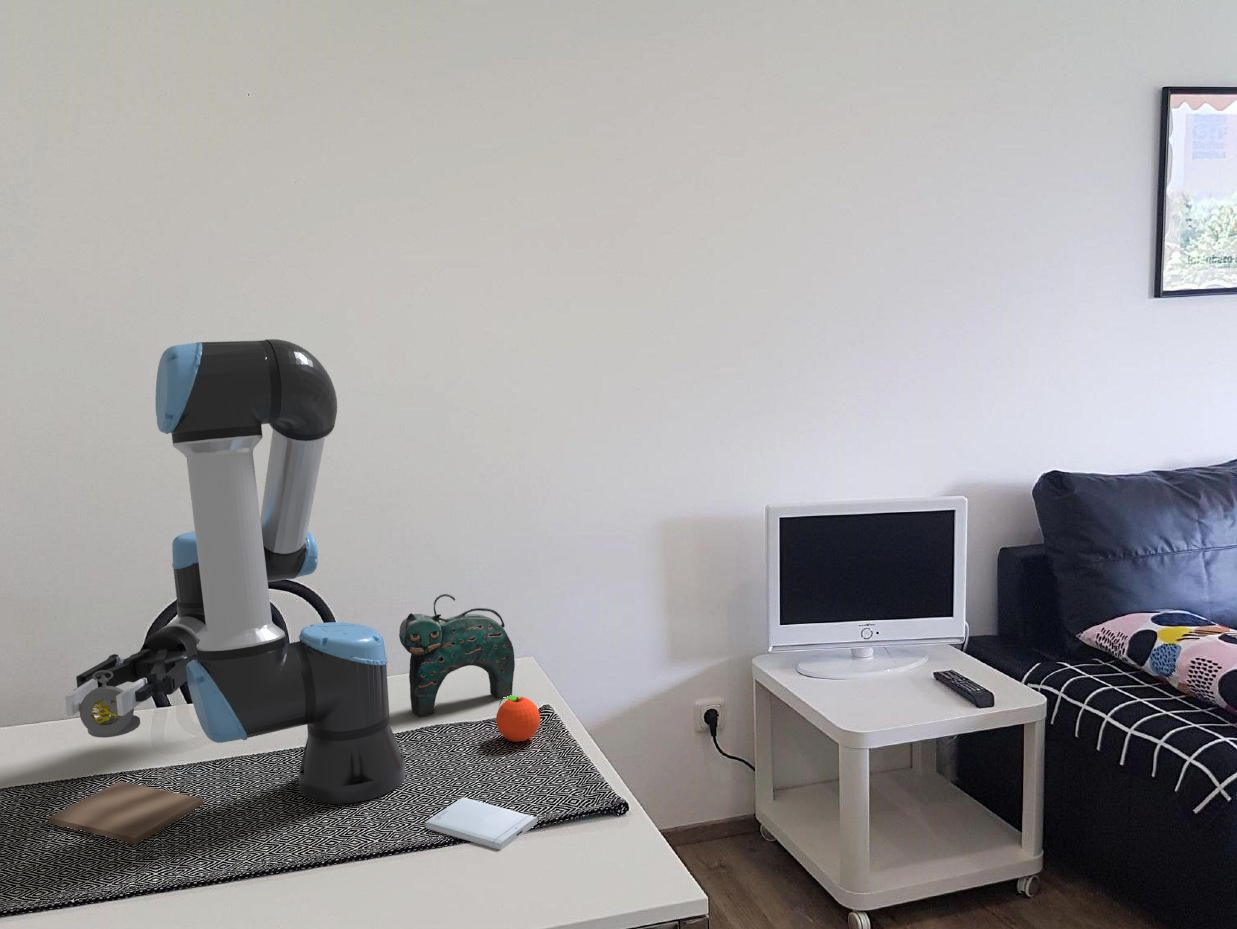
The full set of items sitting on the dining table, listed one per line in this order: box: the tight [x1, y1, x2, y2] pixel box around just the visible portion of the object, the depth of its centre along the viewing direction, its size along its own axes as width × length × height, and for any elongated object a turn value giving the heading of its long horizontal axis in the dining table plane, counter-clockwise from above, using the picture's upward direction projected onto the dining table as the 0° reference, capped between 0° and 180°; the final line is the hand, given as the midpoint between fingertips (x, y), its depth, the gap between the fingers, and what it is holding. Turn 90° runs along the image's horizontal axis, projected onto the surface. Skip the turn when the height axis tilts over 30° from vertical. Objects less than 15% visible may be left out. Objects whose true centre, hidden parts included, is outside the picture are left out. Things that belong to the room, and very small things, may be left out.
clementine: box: [495, 695, 541, 743], centre depth 176 cm, size 8×7×7 cm
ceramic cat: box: [398, 593, 516, 718], centre depth 191 cm, size 20×6×20 cm, turn 119°
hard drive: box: [425, 797, 539, 851], centre depth 148 cm, size 2×8×12 cm
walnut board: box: [47, 780, 204, 846], centre depth 154 cm, size 16×12×1 cm
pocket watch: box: [79, 670, 141, 739], centre depth 152 cm, size 8×8×10 cm
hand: (94, 705), depth 146 cm, fingers closed on pocket watch, 6 cm apart
